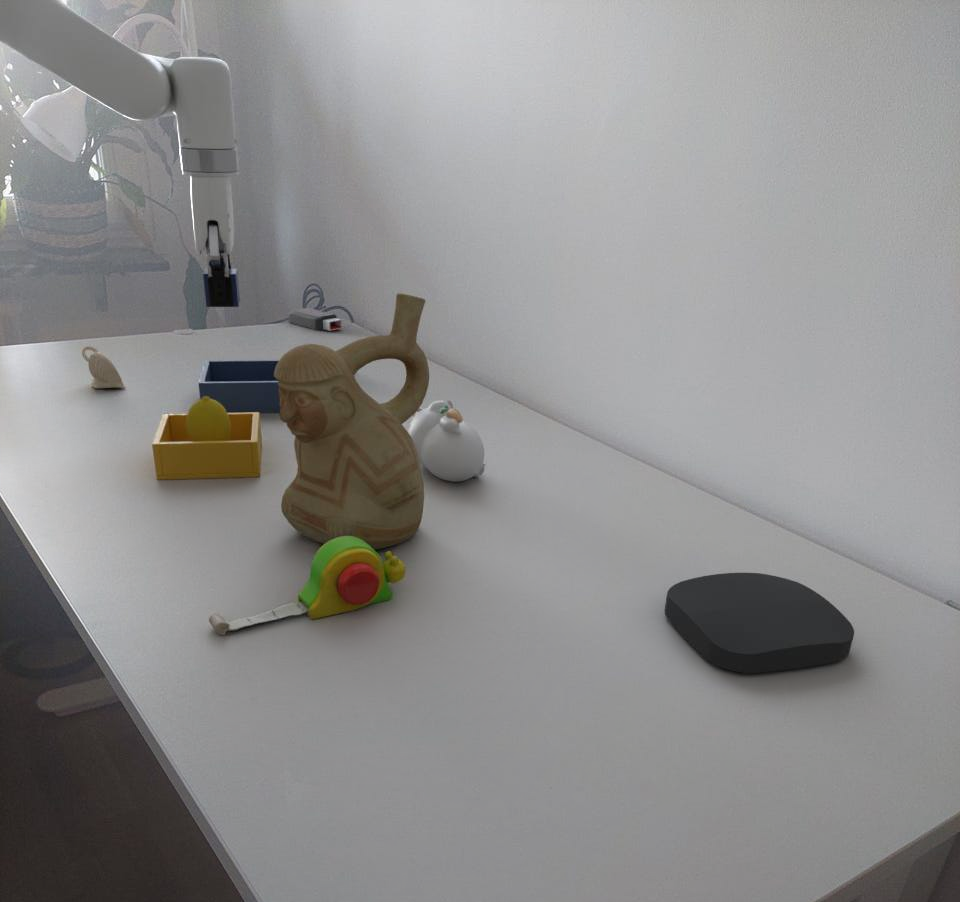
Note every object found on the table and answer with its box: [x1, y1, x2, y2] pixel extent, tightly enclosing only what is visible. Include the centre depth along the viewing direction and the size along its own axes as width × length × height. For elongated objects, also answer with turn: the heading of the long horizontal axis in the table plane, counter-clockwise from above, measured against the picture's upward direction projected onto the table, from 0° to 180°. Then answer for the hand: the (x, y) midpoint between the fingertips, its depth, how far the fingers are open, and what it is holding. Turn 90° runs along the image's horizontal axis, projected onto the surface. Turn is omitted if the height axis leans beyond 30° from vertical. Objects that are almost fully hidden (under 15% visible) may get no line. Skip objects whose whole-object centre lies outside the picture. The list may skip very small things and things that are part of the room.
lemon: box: [187, 396, 231, 442], centre depth 125 cm, size 6×6×8 cm
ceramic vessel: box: [274, 292, 430, 551], centre depth 102 cm, size 17×20×25 cm
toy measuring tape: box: [208, 536, 407, 636], centre depth 91 cm, size 6×19×7 cm, turn 120°
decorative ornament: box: [81, 346, 126, 390], centre depth 155 cm, size 4×8×5 cm, turn 37°
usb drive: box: [288, 307, 343, 332], centre depth 198 cm, size 5×12×3 cm, turn 47°
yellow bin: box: [151, 412, 263, 481], centre depth 126 cm, size 13×13×5 cm
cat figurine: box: [407, 399, 486, 483], centre depth 125 cm, size 10×8×15 cm
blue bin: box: [197, 359, 281, 414], centre depth 150 cm, size 14×14×5 cm
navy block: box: [202, 268, 241, 308], centre depth 139 cm, size 4×4×4 cm
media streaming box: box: [664, 572, 855, 674], centre depth 91 cm, size 15×15×3 cm
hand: (223, 301), depth 140 cm, fingers closed on navy block, 4 cm apart
